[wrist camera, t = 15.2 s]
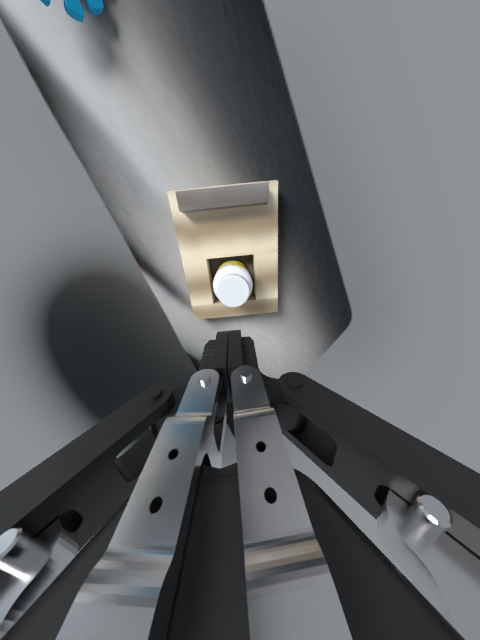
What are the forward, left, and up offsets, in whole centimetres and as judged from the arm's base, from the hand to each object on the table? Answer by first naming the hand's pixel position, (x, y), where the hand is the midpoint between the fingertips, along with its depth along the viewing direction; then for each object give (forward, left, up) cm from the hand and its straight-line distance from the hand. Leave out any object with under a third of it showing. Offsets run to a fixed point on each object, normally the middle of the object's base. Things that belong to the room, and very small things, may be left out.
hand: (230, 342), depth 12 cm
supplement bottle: (0, 0, -21) cm, 21 cm away
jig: (-3, 0, -21) cm, 21 cm away
